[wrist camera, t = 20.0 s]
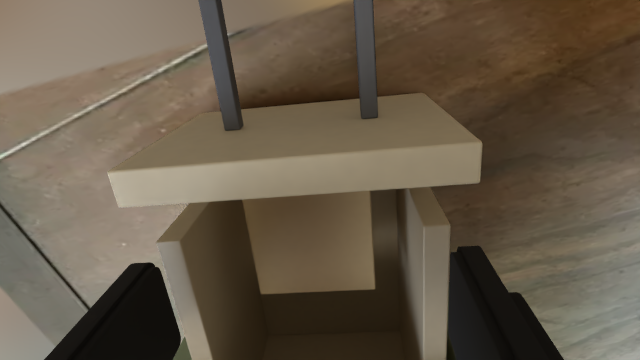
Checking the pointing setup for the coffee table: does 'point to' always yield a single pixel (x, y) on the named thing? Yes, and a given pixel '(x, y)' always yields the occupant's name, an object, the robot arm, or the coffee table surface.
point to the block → (312, 242)
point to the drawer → (295, 180)
